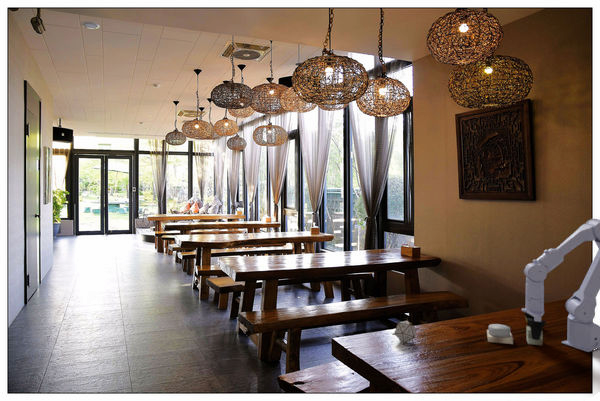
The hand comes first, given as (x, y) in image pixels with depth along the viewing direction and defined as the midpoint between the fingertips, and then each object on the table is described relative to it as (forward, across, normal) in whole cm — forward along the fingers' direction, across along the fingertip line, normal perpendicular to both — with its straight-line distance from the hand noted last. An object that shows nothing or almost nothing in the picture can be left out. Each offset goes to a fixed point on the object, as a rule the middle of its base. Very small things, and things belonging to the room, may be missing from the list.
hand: (534, 335), depth 157 cm
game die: (+3, +13, -43) cm, 45 cm away
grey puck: (+1, 0, -11) cm, 11 cm away
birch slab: (+3, 0, -11) cm, 12 cm away
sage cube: (+2, 0, 0) cm, 3 cm away
